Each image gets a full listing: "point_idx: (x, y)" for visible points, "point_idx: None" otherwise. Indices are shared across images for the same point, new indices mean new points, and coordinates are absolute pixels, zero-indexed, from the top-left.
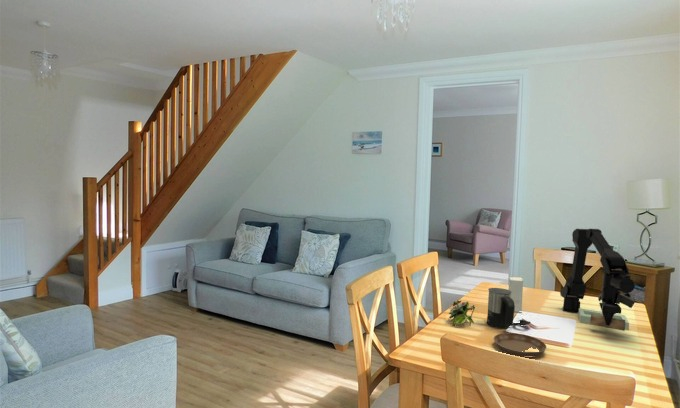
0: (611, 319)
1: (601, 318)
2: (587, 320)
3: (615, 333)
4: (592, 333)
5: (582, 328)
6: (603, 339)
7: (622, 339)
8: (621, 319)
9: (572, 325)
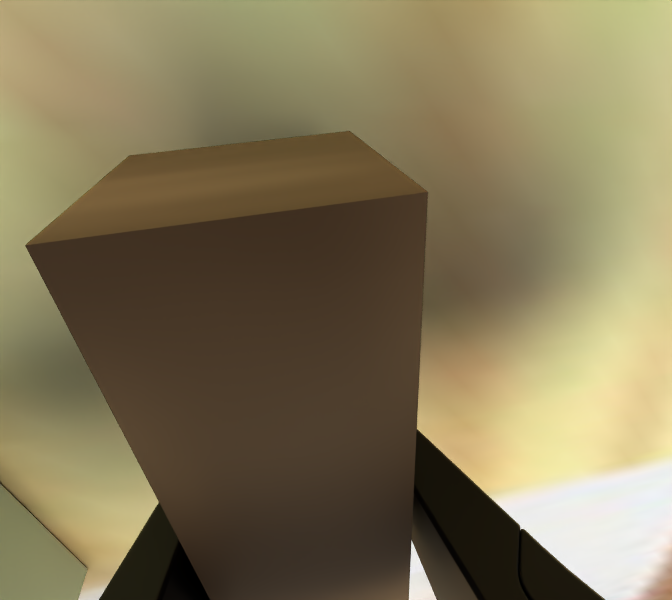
0: (497, 510)
1: (407, 589)
2: (36, 569)
3: None
4: None
5: None
6: (540, 319)
7: (410, 128)
8: (109, 355)
9: None
